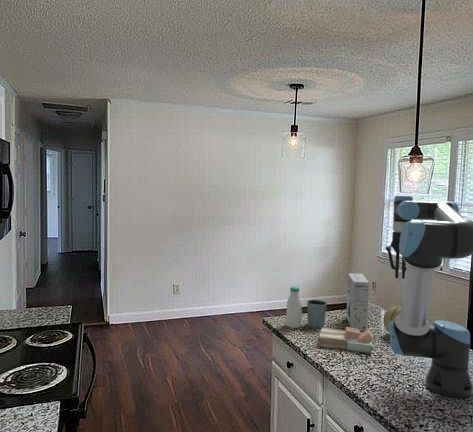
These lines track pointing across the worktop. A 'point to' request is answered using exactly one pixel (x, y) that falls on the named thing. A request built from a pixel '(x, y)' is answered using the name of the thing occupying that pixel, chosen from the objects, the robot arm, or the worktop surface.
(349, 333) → the tile
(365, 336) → the tile
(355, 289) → the cereal box
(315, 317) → the grey-blue hollow tapered cylinder
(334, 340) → the board
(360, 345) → the tray
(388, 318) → the cantaloupe
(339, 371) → the worktop surface
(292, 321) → the milk bottle
